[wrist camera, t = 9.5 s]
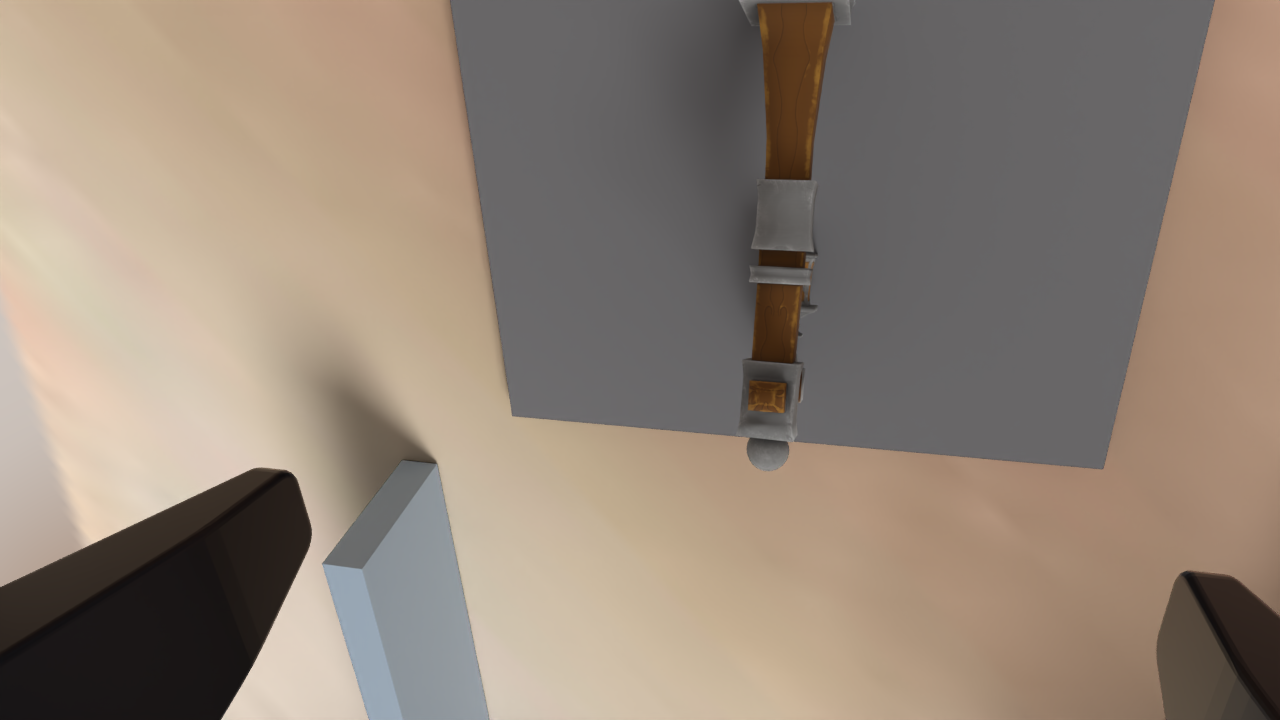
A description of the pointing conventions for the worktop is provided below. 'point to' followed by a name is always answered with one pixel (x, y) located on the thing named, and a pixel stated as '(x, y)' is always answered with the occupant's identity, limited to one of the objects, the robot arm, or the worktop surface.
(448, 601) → the open box
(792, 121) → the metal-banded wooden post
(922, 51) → the mat
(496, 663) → the worktop surface
